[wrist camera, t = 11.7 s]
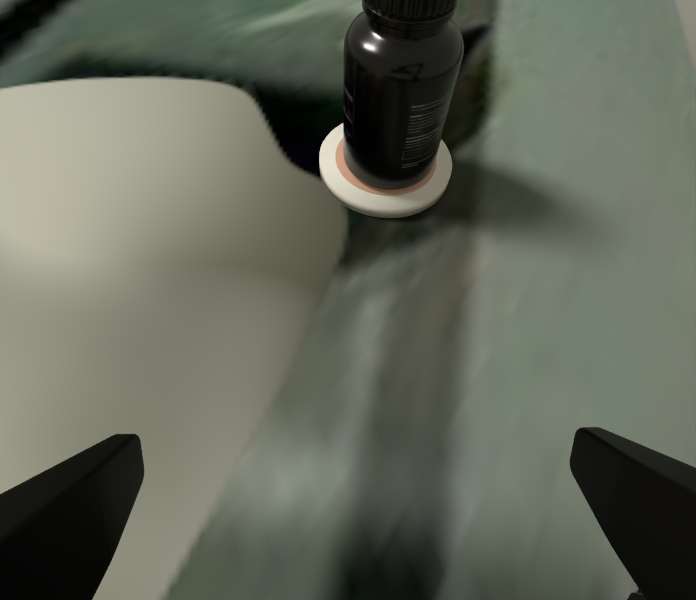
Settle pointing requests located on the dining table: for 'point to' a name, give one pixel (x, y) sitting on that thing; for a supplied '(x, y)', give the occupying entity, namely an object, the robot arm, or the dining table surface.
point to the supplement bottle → (398, 88)
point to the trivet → (377, 199)
